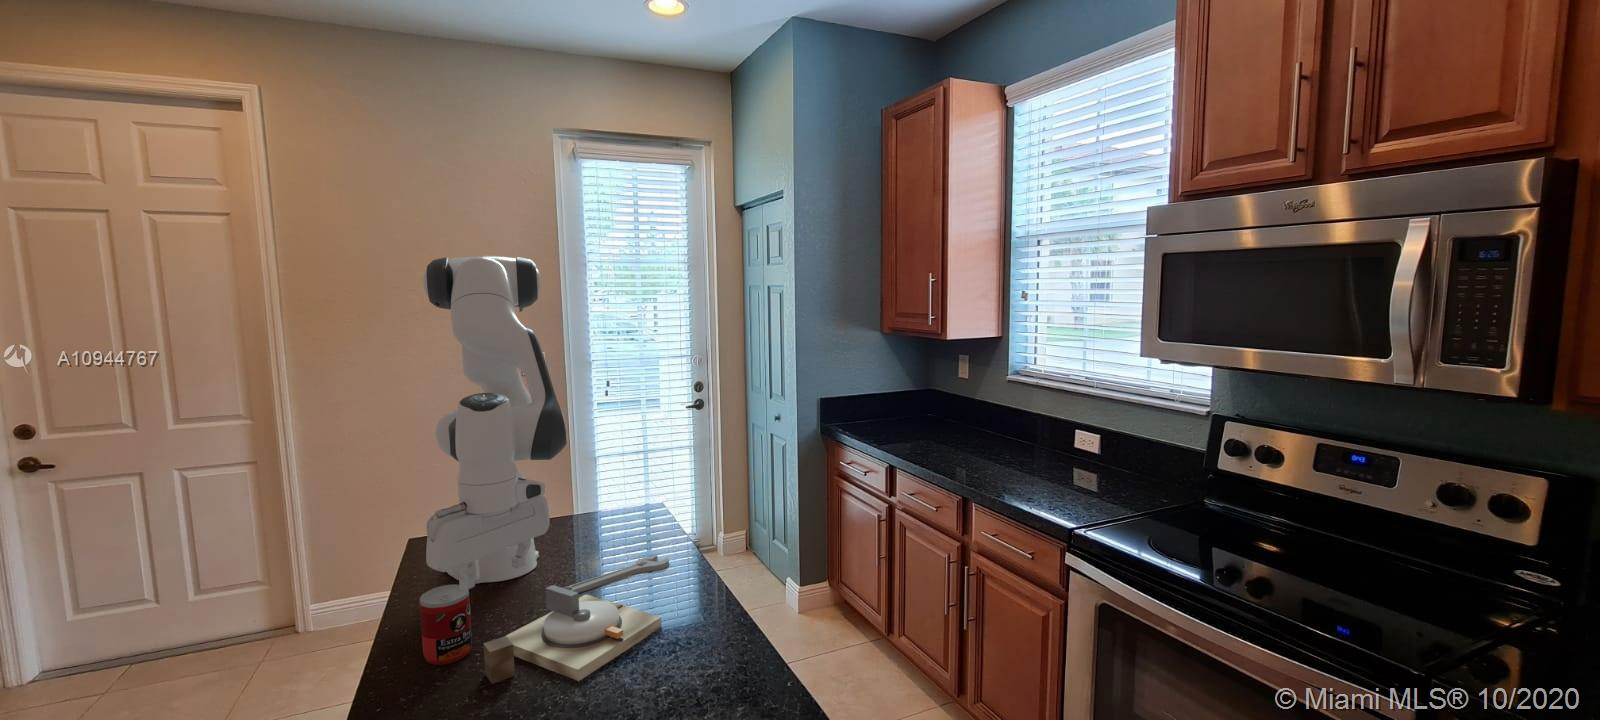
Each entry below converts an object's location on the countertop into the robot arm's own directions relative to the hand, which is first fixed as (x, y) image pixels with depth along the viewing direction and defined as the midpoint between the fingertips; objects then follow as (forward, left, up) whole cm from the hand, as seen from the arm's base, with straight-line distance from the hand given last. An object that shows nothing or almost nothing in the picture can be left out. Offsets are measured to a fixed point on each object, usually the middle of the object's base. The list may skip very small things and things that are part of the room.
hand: (494, 577), depth 110 cm
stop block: (0, 0, -17) cm, 17 cm away
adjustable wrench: (-11, +37, -17) cm, 43 cm away
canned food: (-14, 0, -17) cm, 22 cm away
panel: (+3, +15, -17) cm, 23 cm away
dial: (+3, +15, -15) cm, 21 cm away
